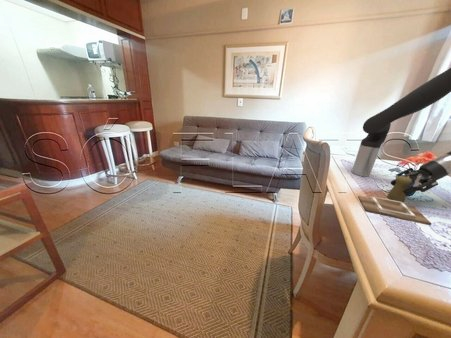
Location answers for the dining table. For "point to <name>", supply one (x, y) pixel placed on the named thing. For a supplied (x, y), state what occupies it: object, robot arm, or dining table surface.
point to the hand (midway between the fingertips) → (397, 188)
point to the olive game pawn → (399, 189)
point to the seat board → (392, 209)
